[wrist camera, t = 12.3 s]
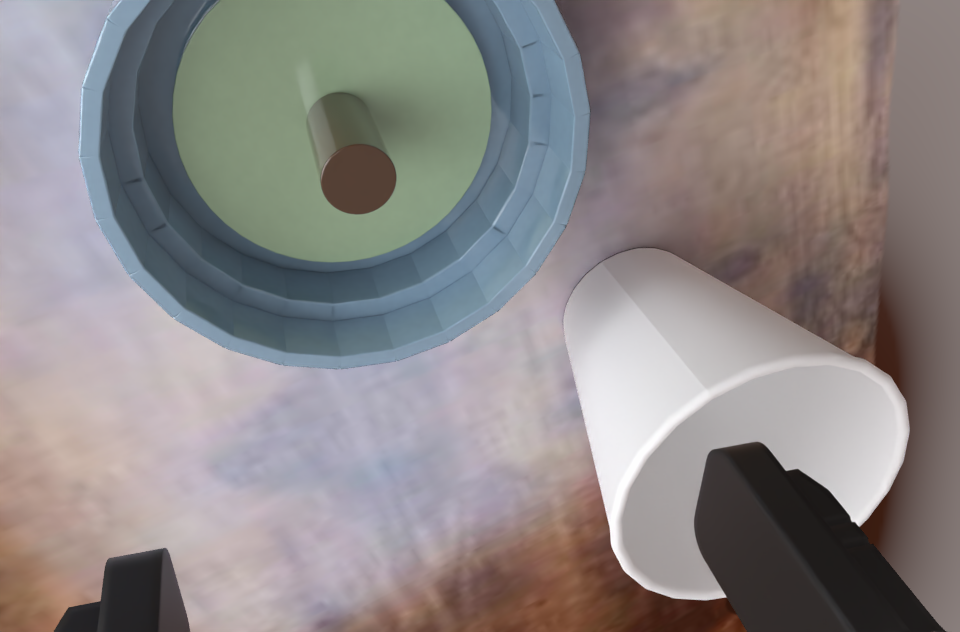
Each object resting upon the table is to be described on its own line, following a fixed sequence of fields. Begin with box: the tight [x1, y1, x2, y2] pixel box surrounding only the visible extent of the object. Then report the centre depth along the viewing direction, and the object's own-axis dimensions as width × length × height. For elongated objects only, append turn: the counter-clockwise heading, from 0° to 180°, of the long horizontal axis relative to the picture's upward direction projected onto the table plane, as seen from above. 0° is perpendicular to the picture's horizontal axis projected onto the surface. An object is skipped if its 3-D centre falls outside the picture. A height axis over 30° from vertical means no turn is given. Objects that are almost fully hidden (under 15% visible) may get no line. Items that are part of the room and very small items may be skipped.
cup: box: [563, 248, 910, 600], centre depth 36 cm, size 12×12×12 cm
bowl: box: [78, 0, 591, 369], centre depth 30 cm, size 16×16×6 cm
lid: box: [172, 0, 492, 263], centre depth 30 cm, size 11×11×6 cm
